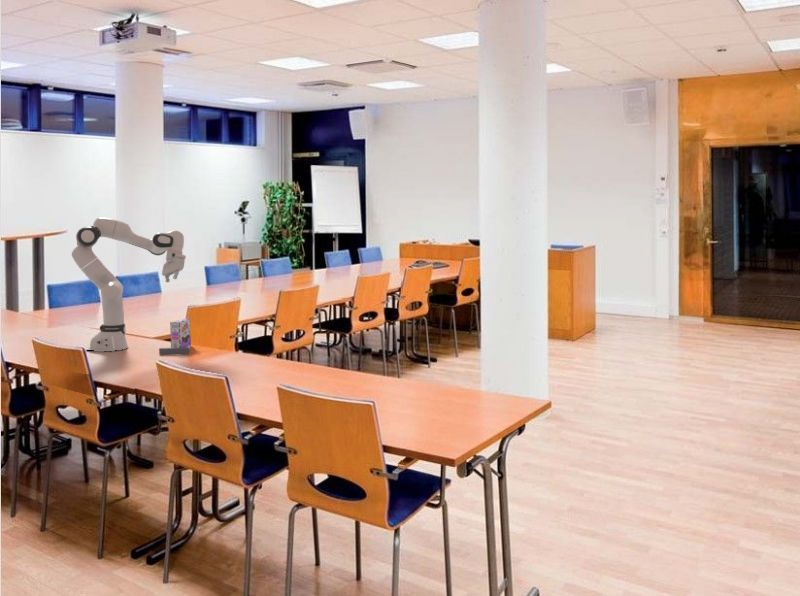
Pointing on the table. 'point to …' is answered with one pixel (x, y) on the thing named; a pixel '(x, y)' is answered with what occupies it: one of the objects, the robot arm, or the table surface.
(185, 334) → the candy box
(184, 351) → the slide guide
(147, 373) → the table surface
